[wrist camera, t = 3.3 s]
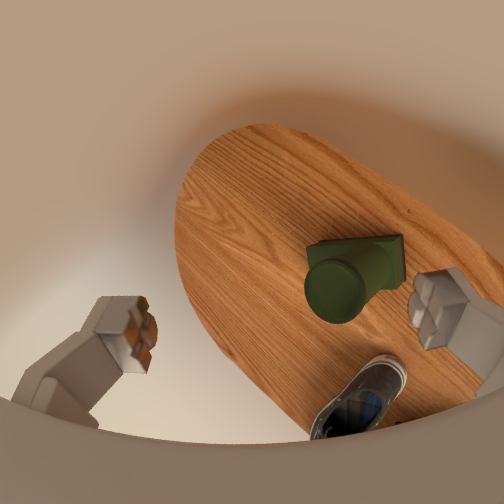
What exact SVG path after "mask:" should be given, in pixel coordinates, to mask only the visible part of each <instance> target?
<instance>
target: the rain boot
mask: <svg viewBox="0 0 504 504" xmlns="http://www.w3.org/2000/svg"><path fill="white" fill-rule="evenodd" d="M306 249H307V256H308V263H309V272H308V273H307V276H306V279H305V284H304V290H305V296H306V299H307V302H308V304H309V306H310V308H311V309H312V310H313V312H314V313H315V314H316V315H317V316H318V317H320V318H321V319H323V320H324V321H327V322H329V323H333V324H343V323H347V322H349V321H351V320H352V319H354V318H355V317H356V316H357V315H358V314H359V313H360V312H361V310H362V309H363V307H364V305H365V304H366V303H367V302H368V301H369V300H370V299H371V298H372V297H373V296H374V295H375V294H376V293H377V292H378V291H379V290H380V289H387V290H397V289H398V288H399V286H400V285H401V284H402V283H403V282H405V281H406V267H405V254H404V243H403V235H402V234H400V235H386V236H373V237H359V238H346V239H333V240H321V241H319V242H318V243H316V244H313V245H310V246H307V247H306Z"/></svg>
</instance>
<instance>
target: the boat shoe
mask: <svg viewBox="0 0 504 504" xmlns="http://www.w3.org/2000/svg"><path fill="white" fill-rule="evenodd" d="M406 380H407V371H406V368H405V366H404V364H403V363H402V362H401V361H400V360H399V359H398V358H396V357H395V356H392V355H379V356H377V357H375V358H373V359H372V360H371V361H369V362H368V363H367V364H366V365H365V366H364V367H363V368H362V369H361V370H360V371H359V373H358V374H357V375H356V376H355V377H354V378H353V380H352V381H351V382H350V383H349V384H348V386H347V387H346V388H345V389H344V390H343V391H342V392H341V393H340V394H339V395H338V396H337V397H335V398H334V399H333V400H331V401H330V402H329V403H328V404H327V405H326V406H325V407H324V408H323V409H322V410H321V411H320V412H319V413H318V415H317V416H316V418H315V420H314V422H313V425H312V427H311V432H310V440H319V439H326V438H333V437H340V436H346V435H352V434H358V433H363V432H368V431H372V430H373V429H374V428H375V427H376V426H377V425H378V423H380V421H381V420H382V419H383V418H384V416H385V415H386V413H387V411H388V409H389V407H390V405H391V403H392V402H393V401H394V400H395V399H396V397H397V396H398V395H399V394H400V392H401V391H402V390H403V388H404V386H405V384H406Z"/></svg>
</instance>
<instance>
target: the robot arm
mask: <svg viewBox="0 0 504 504" xmlns="http://www.w3.org/2000/svg"><path fill="white" fill-rule="evenodd" d="M413 286H414V288H415V290H414V291H413V292H412V293H411V295H410V296H409V300H408V304H407V306H408V316H409V319H410V321H411V324H412V325H413V326H415V327H416V328H418V329H419V330H418V333H417V336H418V338H419V340H420V343H421V345H422V347H423V349H424V351H427V350H432V349H436V348H441V347H445V346H447V347H446V348H447V349H449V350H450V351H451V352H452V353H453V354H454V355H456V356H457V357H458V358H459V359H460V360H461V361H463V362H464V363H465V364H466V365H467V366H468V367H469V368H470V369H472V370H473V371H474V372H475V373H476V374H477V375H478V376H479V377H481V378H482V379H483V380H484V381H483V383H482V384H481V385H480V387H479V388H478V389H477V391H476V393H475V395H476V397H477V398H476V399H474V400H471V401H469V402H466V403H464V404H461V405H459V406H456V407H453V408H450V409H448V410H445V411H442V412H439V413H436V414H433V415H430V416H427V417H423V418H420V419H417V420H413V421H410V422H406V423H402V424H398V425H394V426H390V427H386V428H382V429H377V430H373V431H368V432H363V433H358V434H352V435H346V436H340V437H333V438H326V439H319V440H310V441H300V442H288V443H274V444H273V443H272V444H206V443H190V442H178V441H168V440H159V439H152V438H144V437H138V436H132V435H126V434H121V433H115V432H111V431H106V430H101V429H98V426H99V424H98V422H97V420H96V419H95V418H94V417H93V416H92V415H90V413H89V411H90V410H91V409H92V407H93V406H94V405H95V404H96V403H97V402H98V401H99V400H100V399H101V397H103V395H104V394H105V393H106V392H107V391H108V390H109V389H110V388H111V387H112V386H113V384H114V383H115V382H116V381H117V380H118V379H119V378H120V377H121V376H122V375H123V373H122V372H125V373H142V374H144V373H145V374H147V371H148V368H149V365H150V361H151V358H152V356H151V354H150V352H149V351H150V350H151V349H152V348H153V347H154V346H155V344H156V341H157V333H158V332H157V331H158V329H157V324H156V321H155V319H154V317H153V316H152V315H151V314H150V313H148V312H147V310H148V308H149V305H148V302H147V300H146V298H145V297H143V296H102V297H100V298H98V300H97V302H96V304H95V305H94V307H93V309H92V310H91V312H90V314H89V316H88V317H87V319H86V321H85V323H84V325H83V327H82V328H81V330H80V332H75V333H74V334H72V335H71V336H70V337H69V338H67V339H66V340H65V341H63V342H62V343H60V344H59V345H58V346H56V347H55V348H54V349H52V350H51V351H50V352H49V353H47V354H46V355H45V356H43V357H42V358H41V359H39V360H38V361H37V362H35V363H34V364H33V365H32V366H30V367H29V368H28V369H26V370H25V373H24V374H23V376H22V378H21V380H20V382H19V385H18V386H17V388H16V390H15V392H14V395H13V397H12V399H11V401H9V400H7V399H5V398H2V397H0V504H504V308H502V307H501V306H499V305H497V304H495V303H494V302H492V301H490V300H488V299H486V298H485V299H482V297H481V296H480V295H479V293H478V292H477V291H476V289H475V288H474V287H473V285H472V284H471V283H470V282H469V280H468V279H467V278H466V276H465V275H464V274H463V273H462V271H461V270H460V269H458V268H456V267H454V268H448V269H443V270H438V271H431V272H424V273H417V275H416V276H415V278H414V281H413Z"/></svg>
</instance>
